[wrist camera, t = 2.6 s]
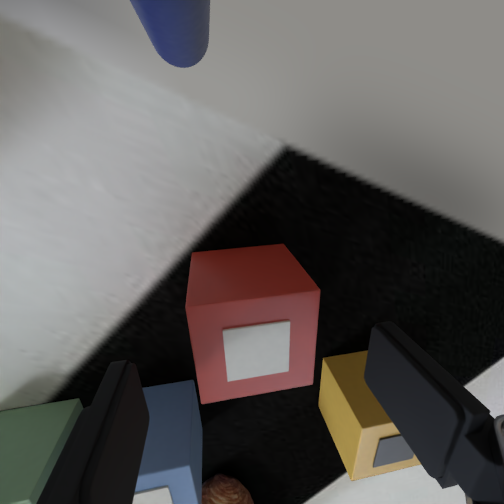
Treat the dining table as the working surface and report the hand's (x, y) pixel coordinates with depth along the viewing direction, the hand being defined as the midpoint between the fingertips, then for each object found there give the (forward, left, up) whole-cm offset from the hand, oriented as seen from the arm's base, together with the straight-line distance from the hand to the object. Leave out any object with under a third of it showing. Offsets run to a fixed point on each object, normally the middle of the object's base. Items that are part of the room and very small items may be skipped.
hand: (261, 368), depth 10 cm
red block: (-1, 0, -5) cm, 5 cm away
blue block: (+8, -6, -5) cm, 12 cm away
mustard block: (+8, +8, -5) cm, 13 cm away
